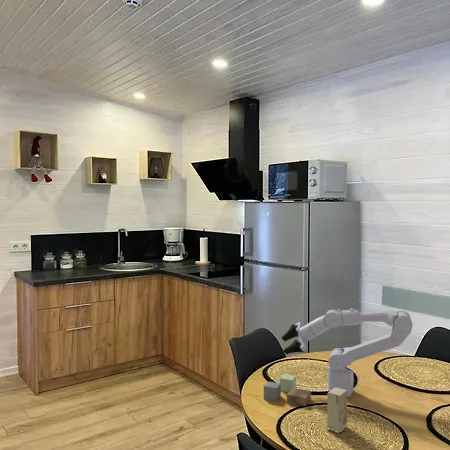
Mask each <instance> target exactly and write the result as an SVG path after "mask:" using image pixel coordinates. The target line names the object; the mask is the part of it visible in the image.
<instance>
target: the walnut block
mask: <svg viewBox="0 0 450 450" xmlns="http://www.w3.org/2000/svg"><path fill="white" fill-rule="evenodd" d="M311 400H312V391H311V390H308V389H301V388H297V387H296V388H292V389H291V390H290V392H287V394H286V404H290V405H292V406H293V405H294V406H298V407H303V406H306V405H307V406H308V404H309V403H310V401H311ZM307 406H306V407H307Z"/></svg>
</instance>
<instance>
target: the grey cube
mask: <svg viewBox="0 0 450 450" xmlns="http://www.w3.org/2000/svg"><path fill="white" fill-rule="evenodd" d="M281 395H282V391H281V383H280V382H274V381H267V382H266V383H265V384H264V385H263V400H265V401H266V400H267V401H271V402H277V401H278V400H279V399H280V398H281V397H282V396H281Z"/></svg>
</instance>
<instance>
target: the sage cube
mask: <svg viewBox="0 0 450 450" xmlns="http://www.w3.org/2000/svg"><path fill="white" fill-rule="evenodd" d="M279 383H281V392H286V393H289V392H290V390H291V389H292V388H295V387H296V388H297V375H294V374H293V375H291V374H287V373H283V374H282V375H281V377H279Z"/></svg>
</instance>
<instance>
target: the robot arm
mask: <svg viewBox="0 0 450 450" xmlns="http://www.w3.org/2000/svg"><path fill="white" fill-rule="evenodd" d="M411 319H412V318H411V315H410V313H408V312H407V311H405V310H398V311H397V310H395V309H394V310H382V311H381V310H380V311H369V312H360V311H359V310H358V309H354V307H353V308H352V307H351V308H349V309H347V310H345V309H343V310H341V309H337V310H336V309H329V310H327V311H326V313H325V314H324V315H321V316H319V317H317V318H316V319H313V320H312V321H310V322H308V323H306V324H305V325H303V324H302V323H301V322H300V321H299V322H297V323H295V324H291V326H290V327H289V329H288V330H287V331H286V332H285V333H284V334H283V335H282V336H281V340H283V341H284V342H287V341H290V340H292V339H294V338H298V339H299V341H298V340H297V339H295V340H294V341H293V342H292V343H291V344H290V345H287V347H285V348H284V349H283V352H284V354H285V355H289V354H294V353H304V352H305V351H306V350H308V342H309V341H310V340H312V339H314V338H316V337H318V336H320V335H321V334H324V333H325V332H326V331H328V330H329V329H332V328H333V329H336V328H338V327H339V326H341V327H342V326H345V327H346V326H359V325H360V324H361V323H362V322H363V323H364V322H365V323H366V322H368V323H369V322H371V323H372V322H373V323H376V322H378V323H379V322H380V323H385V324H386V325H388V326H389V327H391V329H390V330H389V331H390V332H389V333H388V334H386V335H381V336H380V337H378V338H377V337H376V338H374V339H370V340H367V341H365V342H363V343H359V344H357V345H353V346H351V347H343V348H341V347H336V348H333V349H332V350H331V351H330V354H329V358H328V367H327V388H326V389H327V390H329V391H331V390H332V389H333V388H335V387H337V388H340V389H344V390H347V398H351V396H352V394H353V392H354V389H355V388H354V370H350V369H348V366H351V364H353V363H354V362H355V361H358V360H361V359H364V358H367V357H370V356H373V355H375V354H379V353H382V352H386V351H388V350H391V349H395V348H397V347H399V346H401V345H402V344H403V343H404V341H405V340H406V339H407V337H408V336H409V335H410V334H411V333H412V330H413V326H414V325H413V322H412V320H411Z"/></svg>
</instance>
